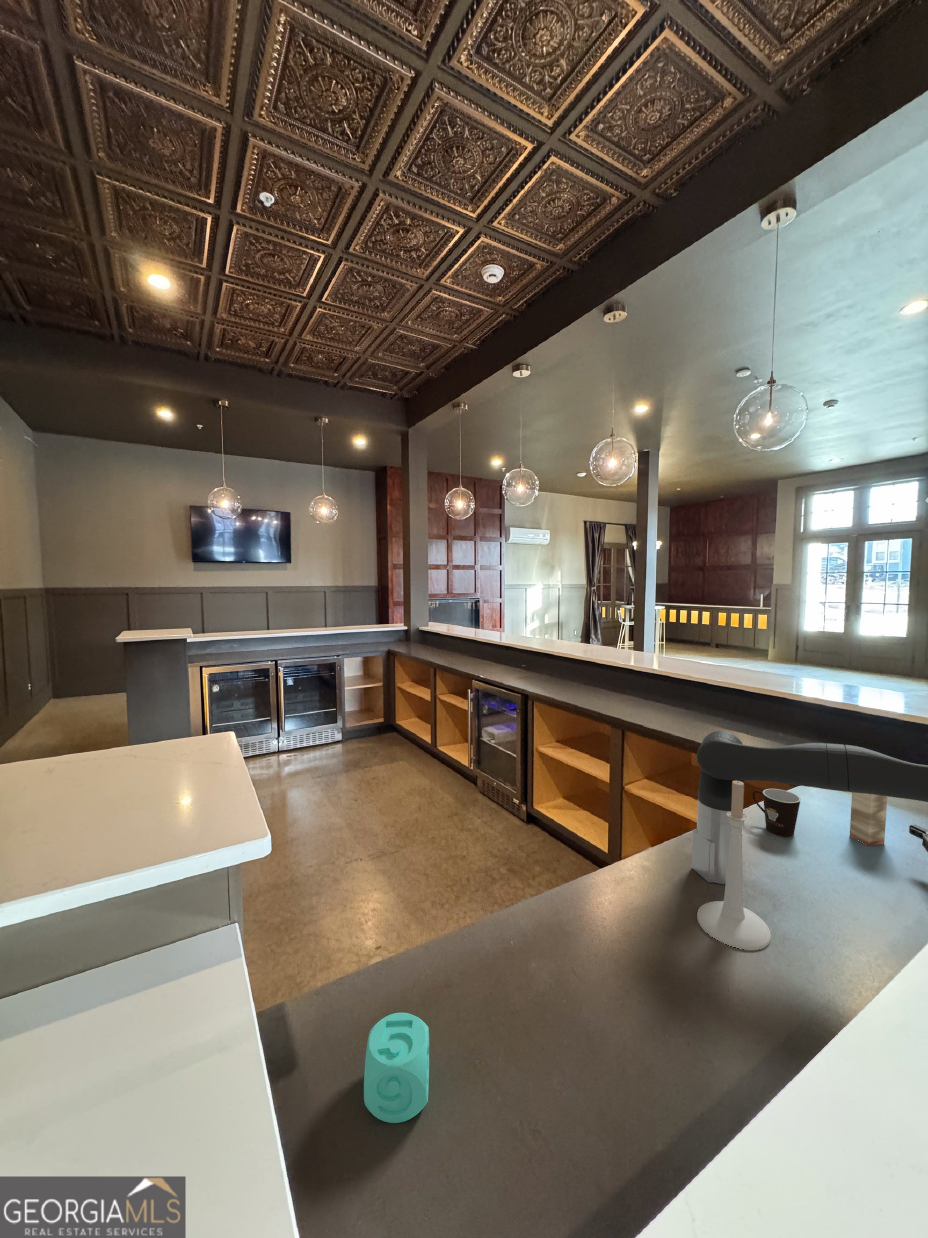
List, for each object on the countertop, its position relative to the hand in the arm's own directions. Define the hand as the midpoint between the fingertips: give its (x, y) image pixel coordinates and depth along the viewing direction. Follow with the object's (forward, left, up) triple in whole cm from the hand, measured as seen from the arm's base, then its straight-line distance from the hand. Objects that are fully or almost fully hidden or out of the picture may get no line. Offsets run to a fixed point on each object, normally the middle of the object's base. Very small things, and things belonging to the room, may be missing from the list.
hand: (911, 828), depth 117 cm
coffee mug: (-18, +20, -9) cm, 29 cm away
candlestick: (-57, -11, -9) cm, 59 cm away
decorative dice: (-124, -30, -9) cm, 128 cm away
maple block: (0, +10, -9) cm, 13 cm away
